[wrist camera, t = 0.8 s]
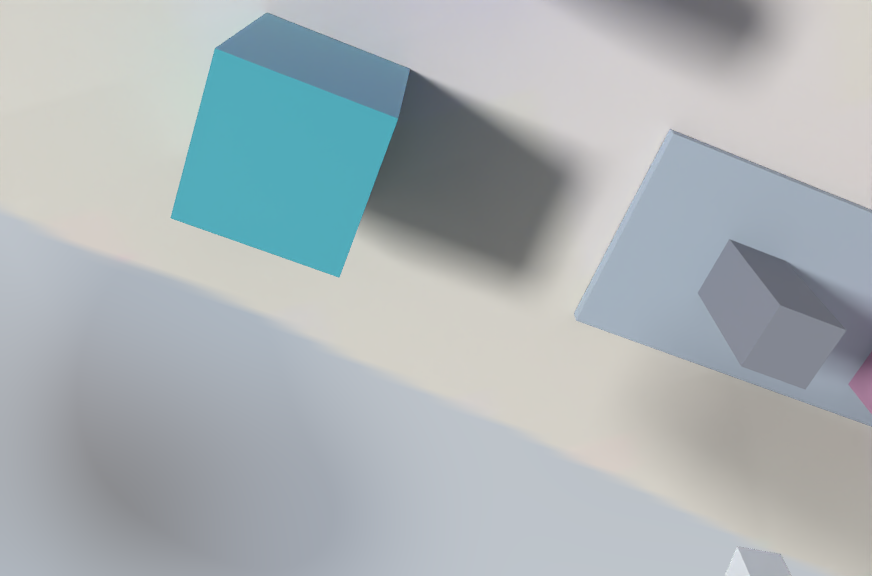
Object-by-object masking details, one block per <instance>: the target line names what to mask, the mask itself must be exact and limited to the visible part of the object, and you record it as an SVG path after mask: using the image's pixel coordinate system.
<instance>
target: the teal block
mask: <svg viewBox="0 0 872 576" xmlns="http://www.w3.org/2000/svg"><path fill="white" fill-rule="evenodd" d="M409 72H410V69H409V68H406V67H404V66H401V65H399V64H396V63H393V62H391V61H388V60H386V59H383V58H381V57H378V56H376V55H373V54H371V53H368V52H366V51H363V50H360V49H358V48H355V47H353V46H350V45H348V44H345V43H343V42H340V41H338V40H335V39H333V38H330V37H327V36H325V35H322V34H320V33H317V32H315V31H312V30H310V29H307V28H305V27H302V26H300V25H297V24H294V23H292V22H289V21H287V20H284V19H282V18H279V17H277V16H274V15H272V14H269V13H265V14H264V15H263V16H261V17H260V18H258V19H257V20H255V21H254V22H252V23H251V24H250V25H248V26H247V27H245V28H244V29H242V30H241V31H239V32H238V33H236V34H235V35H234V36H232V37H231V38H229V39H228V40H226V41H225V42H223V43H222V44H221V45H219V46H218V47H216V48H215V50H214V54H213V58H212V62H211V66H210V70H209V73H208V77H207V81H206V85H205V89H204V92H203V96H202V100H201V104H200V108H199V112H198V115H197V119H196V123H195V127H194V131H193V134H192V138H191V142H190V146H189V150H188V153H187V157H186V161H185V165H184V169H183V173H182V176H181V180H180V184H179V188H178V192H177V195H176V199H175V203H174V207H173V211H172V215H171V218H172V219H174V220H177V221H180V222H183V223H186V224H189V225H192V226H194V227H197V228H200V229H203V230H206V231H209V232H211V233H214V234H217V235H220V236H223V237H226V238H228V239H231V240H234V241H237V242H240V243H243V244H246V245H248V246H251V247H254V248H257V249H260V250H263V251H265V252H268V253H271V254H274V255H277V256H280V257H282V258H285V259H288V260H291V261H294V262H297V263H300V264H302V265H305V266H308V267H311V268H314V269H317V270H319V271H322V272H325V273H328V274H331V275H334V276H336V277H340V274H341V272H342V269H343V266H344V264H345V261H346V258H347V255H348V253H349V250H350V247H351V245H352V242H353V239H354V237H355V234H356V231H357V229H358V226H359V223H360V220H361V218H362V215H363V212H364V210H365V207H366V204H367V202H368V199H369V196H370V193H371V191H372V188H373V185H374V183H375V180H376V177H377V175H378V172H379V169H380V167H381V164H382V161H383V158H384V156H385V153H386V150H387V148H388V145H389V142H390V140H391V137H392V134H393V131H394V129H395V126H396V123H397V121H398V118H399V113H400V109H401V105H402V101H403V97H404V92H405V88H406V84H407V80H408V76H409Z"/></svg>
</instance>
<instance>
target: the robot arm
mask: <svg viewBox="0 0 872 576" xmlns="http://www.w3.org/2000/svg"><path fill="white" fill-rule="evenodd" d="M725 576H791V574H790V572H789V570H788V568H787V566H786V564H785V562H784V560H783V558H782V556H781V554H777V553H772V552H766V551H760V550H755V549H749V548H744V547H738V546H737V548H736V550H735V552H734V555H733V557H732V560H731V562H730V564H729V567H728V569H727V571H726V574H725Z"/></svg>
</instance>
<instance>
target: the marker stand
mask: <svg viewBox="0 0 872 576" xmlns="http://www.w3.org/2000/svg"><path fill="white" fill-rule="evenodd" d="M574 315H575V318H576V321H579V322H582V323H585V324H587V325H590V326H593V327H596V328H599V329H601V330H604V331H607V332H610V333H613V334H615V335H618V336H621V337H624V338H626V339H629V340H632V341H635V342H638V343H640V344H643V345H646V346H649V347H651V348H654V349H657V350H660V351H663V352H665V353H668V354H671V355H674V356H677V357H679V358H682V359H685V360H688V361H690V362H693V363H696V364H699V365H702V366H704V367H707V368H710V369H713V370H716V371H718V372H721V373H724V374H727V375H729V376H732V377H735V378H738V379H741V380H743V381H746V382H749V383H752V384H754V385H757V386H760V387H763V388H766V389H768V390H771V391H774V392H777V393H780V394H782V395H785V396H788V397H791V398H793V399H796V400H799V401H802V402H805V403H807V404H810V405H813V406H816V407H818V408H821V409H824V410H827V411H830V412H832V413H835V414H838V415H841V416H844V417H846V418H849V419H852V420H855V421H857V422H860V423H863V424H866V425H869V426H871V427H872V210H870V209H868V208H865V207H863V206H860V205H858V204H855V203H853V202H850V201H848V200H845V199H843V198H840V197H838V196H835V195H833V194H830V193H828V192H825V191H823V190H820V189H818V188H815V187H813V186H810V185H808V184H805V183H803V182H800V181H798V180H796V179H793V178H791V177H788V176H786V175H783V174H781V173H778V172H776V171H773V170H771V169H768V168H766V167H763V166H761V165H758V164H756V163H753V162H751V161H748V160H746V159H743V158H741V157H738V156H736V155H733V154H731V153H728V152H726V151H723V150H721V149H718V148H716V147H713V146H711V145H708V144H706V143H703V142H701V141H698V140H696V139H693V138H691V137H688V136H686V135H684V134H681V133H679V132H676V131H674V130H671V129H670V130H669V132H668V134H667V136H666V138H665V140H664V142H663V144H662V145H661V147H660V149H659V151H658V153H657V155H656V157H655V159H654V161H653V163H652V165H651V167H650V169H649V170H648V172H647V174H646V176H645V178H644V180H643V182H642V184H641V186H640V188H639V190H638V192H637V193H636V195H635V197H634V199H633V201H632V203H631V205H630V207H629V209H628V211H627V213H626V215H625V217H624V218H623V220H622V222H621V224H620V226H619V228H618V230H617V232H616V234H615V236H614V238H613V240H612V241H611V243H610V245H609V247H608V249H607V251H606V253H605V255H604V257H603V259H602V261H601V263H600V265H599V266H598V268H597V270H596V272H595V274H594V276H593V278H592V280H591V282H590V284H589V286H588V288H587V289H586V291H585V293H584V295H583V297H582V299H581V301H580V303H579V305H578V307H577V309H576V311H575V313H574Z"/></svg>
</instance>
